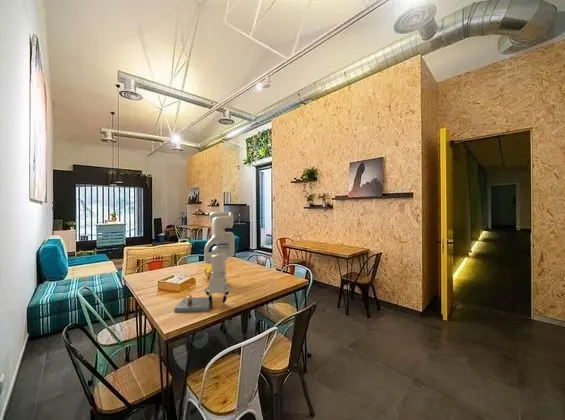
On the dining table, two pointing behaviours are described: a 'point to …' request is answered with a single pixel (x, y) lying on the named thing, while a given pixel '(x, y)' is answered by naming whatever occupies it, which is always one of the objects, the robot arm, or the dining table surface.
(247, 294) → the dining table surface
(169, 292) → the dining table surface
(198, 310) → the plate
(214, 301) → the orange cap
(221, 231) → the robot arm
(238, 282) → the dining table surface
